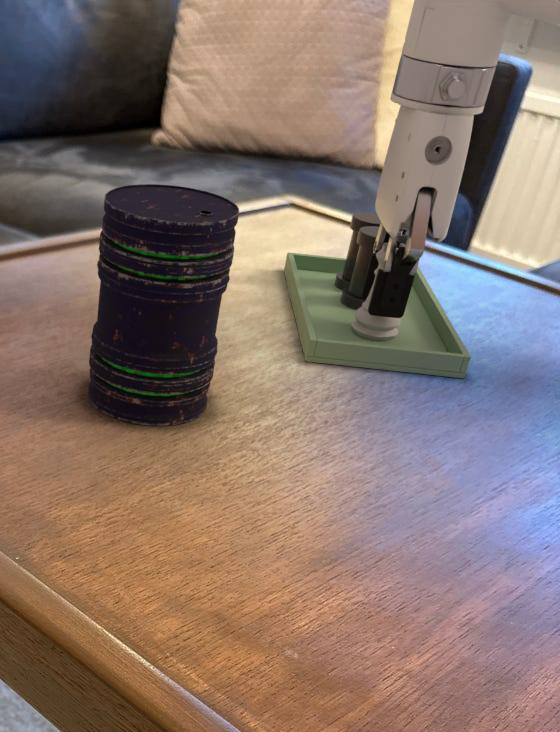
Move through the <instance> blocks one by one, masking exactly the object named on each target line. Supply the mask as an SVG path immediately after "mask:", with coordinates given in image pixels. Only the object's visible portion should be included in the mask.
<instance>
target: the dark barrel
mask: <svg viewBox="0 0 560 732" xmlns="http://www.w3.org/2000/svg"><path fill="white" fill-rule="evenodd" d="M103 201H104V202H103V211H104V215H103V217H102V223H101V230H100V233H99V242H98V252H99V255H98V261H97V264H96V266H97V276H98V279H99V280H100V284H99V293H98V304H97V305H98V306H97V316H96V321H95V322H94V324H93V327H92V332H91V335H90V338H91V345H90V348H89V354H88V355H89V356H88V365H89V372H88V374H89V379H90V381H89V383H88V387H87V397H88V400H89V402H90V403H91V405H92V406H93V407H94V408H96V410H98V411H100V412H101V413H103V414H104V415H106V416H109V417H111V418H114V419H116V420H119V421H123V422H126V423H131V424H136V425H141V426H142V425H143V426H152V427H153V426H154V427H155V426H156V427H164V426H165V427H167V426H168V427H169V426H177V425H182V424H187V423H189V422H192V421H194V420H196V419H198V418H199V417H201V416H202V415H203V414H204V413H205V411H206V409H207V406H208V395H207V394H208V392H209V390H210V387H211V382H212V381H213V377H214V373H215V367H216V357H217V354H218V346H219V345H218V344H219V343H218V342H219V341H218V337H217V335H216V333H217V328H218V323H219V322H218V321H219V316H220V311H221V304H222V298H223V295H224V293H226V291H227V289H228V284H229V282H230V280H231V279H230V272H231V267H232V265H233V260H234V253H235V245H234V244H235V239H236V234H237V233H236V228H235V227H236V226H237V224H238V221H239V216H240V208H239V206H238V205H237V204H236V203H235V202H234V201H232V200H230V199H228V198H227V197H224V196H222V195H219V194H216V193H214V192H210V191H206V190H201V189H197V188H192V187H188V186H187V187H186V186H180V185H171V184H157V183H156V184H154V183H147V184H145V183H144V184H143V183H141V184H140V183H139V184H129V185H123V186H118V187H115V188H112V189H110V190H108V191H107V192H106V193H105V194H104V200H103Z"/></svg>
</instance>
